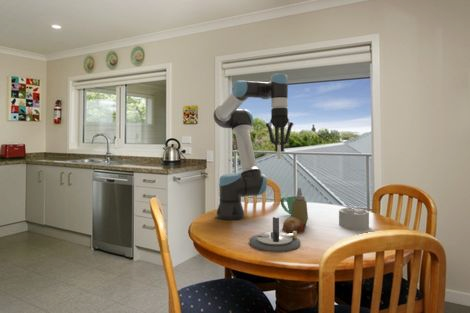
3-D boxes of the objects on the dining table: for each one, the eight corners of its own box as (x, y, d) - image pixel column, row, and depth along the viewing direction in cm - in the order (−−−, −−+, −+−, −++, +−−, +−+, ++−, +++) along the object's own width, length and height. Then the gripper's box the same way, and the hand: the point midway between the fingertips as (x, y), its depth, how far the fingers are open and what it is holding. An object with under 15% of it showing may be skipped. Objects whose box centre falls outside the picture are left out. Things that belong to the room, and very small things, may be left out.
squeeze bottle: (308, 223, 150) (308, 187, 150) (307, 227, 143) (307, 189, 142) (292, 222, 153) (292, 186, 152) (289, 226, 145) (289, 188, 145)
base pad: (242, 248, 116) (242, 237, 116) (257, 233, 135) (257, 224, 134) (295, 254, 109) (295, 243, 109) (303, 238, 127) (303, 228, 127)
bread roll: (284, 235, 143) (276, 220, 143) (303, 225, 144) (296, 210, 143) (289, 242, 134) (281, 226, 133) (310, 231, 134) (302, 215, 134)
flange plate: (250, 237, 125) (250, 212, 125) (284, 232, 132) (284, 208, 131) (268, 247, 112) (267, 220, 112) (303, 241, 119) (303, 215, 118)
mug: (308, 216, 165) (308, 197, 165) (298, 219, 158) (298, 200, 158) (286, 212, 176) (286, 194, 175) (275, 215, 169) (275, 197, 169)
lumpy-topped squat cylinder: (361, 231, 136) (361, 212, 136) (334, 226, 146) (334, 208, 145) (371, 226, 144) (371, 208, 143) (344, 221, 153) (344, 204, 153)
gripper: (295, 108, 143) (295, 158, 144) (267, 109, 148) (268, 158, 149) (292, 106, 136) (292, 159, 137) (263, 107, 141) (264, 159, 142)
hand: (279, 158), depth 143 cm, fingers closed
